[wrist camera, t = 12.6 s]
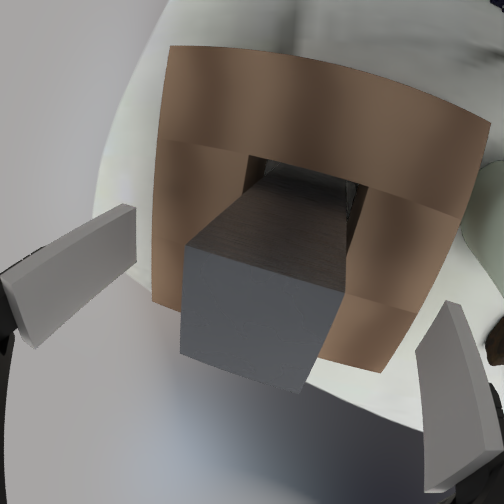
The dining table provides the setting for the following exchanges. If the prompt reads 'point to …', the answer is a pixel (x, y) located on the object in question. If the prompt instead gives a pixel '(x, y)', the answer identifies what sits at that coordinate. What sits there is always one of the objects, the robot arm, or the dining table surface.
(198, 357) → the square bar
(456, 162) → the socket block
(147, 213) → the dining table surface
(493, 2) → the decorative bowl
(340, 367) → the dining table surface
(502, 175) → the round stub
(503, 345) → the hand tool
